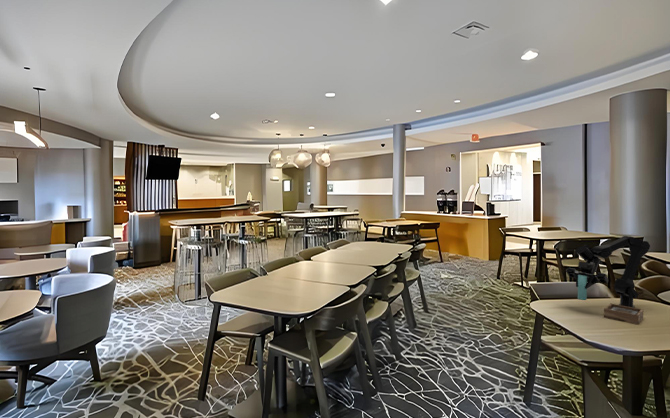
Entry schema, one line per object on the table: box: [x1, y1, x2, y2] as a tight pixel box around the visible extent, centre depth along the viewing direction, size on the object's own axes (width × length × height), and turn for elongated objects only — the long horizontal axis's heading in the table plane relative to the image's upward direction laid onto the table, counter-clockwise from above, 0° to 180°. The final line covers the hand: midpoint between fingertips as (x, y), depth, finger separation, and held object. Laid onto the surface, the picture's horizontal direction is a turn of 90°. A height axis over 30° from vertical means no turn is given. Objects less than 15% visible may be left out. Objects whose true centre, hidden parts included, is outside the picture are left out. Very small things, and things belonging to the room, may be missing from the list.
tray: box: [603, 302, 644, 325], centre depth 180 cm, size 14×14×4 cm
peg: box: [577, 275, 588, 301], centre depth 189 cm, size 4×4×13 cm
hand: (581, 287), depth 189 cm, fingers closed on peg, 4 cm apart
